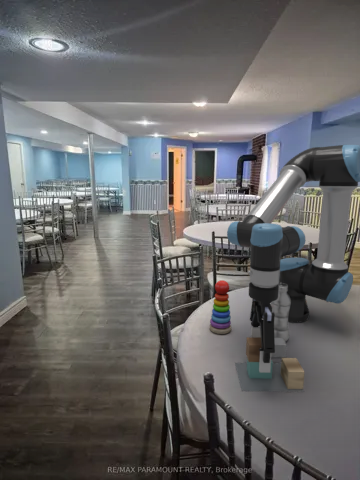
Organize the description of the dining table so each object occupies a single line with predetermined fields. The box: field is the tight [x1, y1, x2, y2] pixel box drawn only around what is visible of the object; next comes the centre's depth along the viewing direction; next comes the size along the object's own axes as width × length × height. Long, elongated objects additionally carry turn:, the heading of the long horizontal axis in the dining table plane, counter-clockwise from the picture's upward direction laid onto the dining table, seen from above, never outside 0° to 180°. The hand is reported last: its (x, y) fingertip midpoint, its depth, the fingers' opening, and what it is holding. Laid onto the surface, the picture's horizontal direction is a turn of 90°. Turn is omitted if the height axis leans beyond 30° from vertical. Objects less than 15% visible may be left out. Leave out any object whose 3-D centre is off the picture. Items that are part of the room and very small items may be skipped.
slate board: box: [234, 362, 305, 393], centre depth 82 cm, size 16×12×1 cm
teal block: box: [246, 357, 274, 379], centre depth 83 cm, size 6×4×5 cm, turn 88°
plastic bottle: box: [270, 283, 291, 343], centre depth 100 cm, size 6×7×20 cm
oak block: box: [280, 357, 305, 390], centre depth 80 cm, size 6×4×5 cm, turn 178°
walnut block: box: [245, 336, 272, 362], centre depth 82 cm, size 6×4×5 cm, turn 88°
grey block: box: [271, 338, 288, 358], centre depth 93 cm, size 6×4×5 cm, turn 88°
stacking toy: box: [209, 280, 232, 335], centre depth 107 cm, size 8×8×19 cm
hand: (259, 359), depth 82 cm, fingers open, 10 cm apart
